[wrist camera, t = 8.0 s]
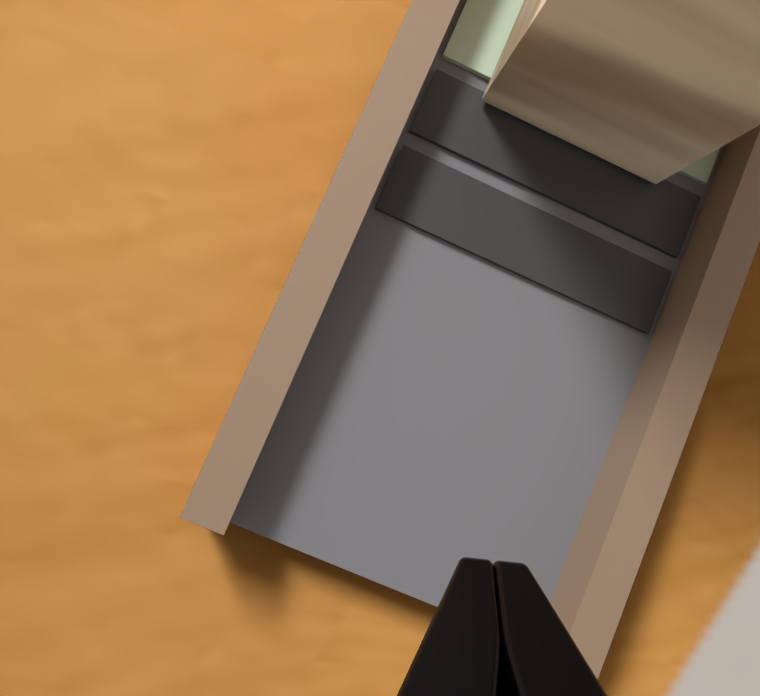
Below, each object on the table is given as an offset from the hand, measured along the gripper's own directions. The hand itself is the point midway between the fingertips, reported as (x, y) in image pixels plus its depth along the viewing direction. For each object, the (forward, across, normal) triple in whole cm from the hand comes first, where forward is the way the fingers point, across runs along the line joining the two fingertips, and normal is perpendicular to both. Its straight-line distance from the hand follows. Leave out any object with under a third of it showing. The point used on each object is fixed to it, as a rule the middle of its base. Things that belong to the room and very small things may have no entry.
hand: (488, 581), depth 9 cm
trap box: (+15, -1, +2) cm, 15 cm away
